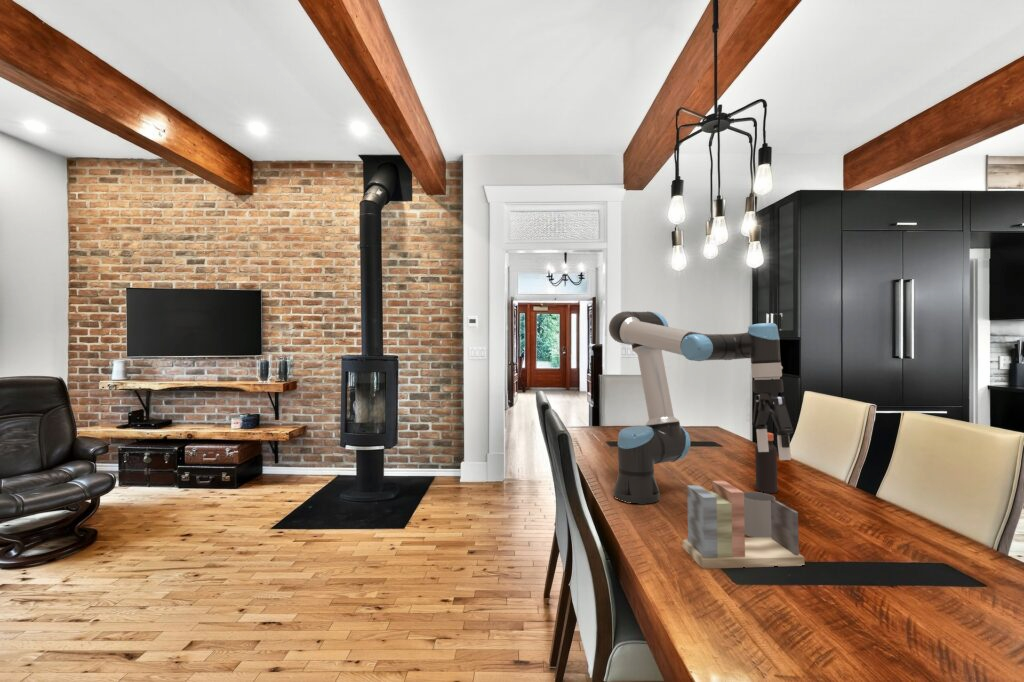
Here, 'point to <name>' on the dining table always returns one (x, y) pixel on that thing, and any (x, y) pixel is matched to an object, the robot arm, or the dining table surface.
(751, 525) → the cup
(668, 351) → the robot arm
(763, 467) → the bottle
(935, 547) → the dining table surface
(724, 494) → the pastel book stand
